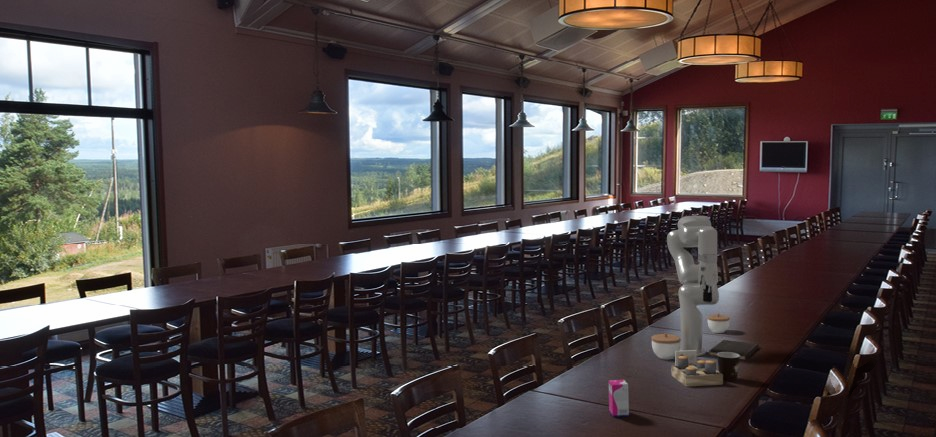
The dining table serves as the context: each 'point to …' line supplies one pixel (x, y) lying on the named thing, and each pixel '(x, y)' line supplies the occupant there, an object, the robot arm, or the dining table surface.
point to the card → (690, 354)
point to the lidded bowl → (665, 345)
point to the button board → (696, 377)
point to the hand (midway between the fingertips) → (707, 301)
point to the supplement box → (618, 398)
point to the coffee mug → (728, 365)
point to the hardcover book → (735, 348)
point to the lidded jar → (718, 323)
